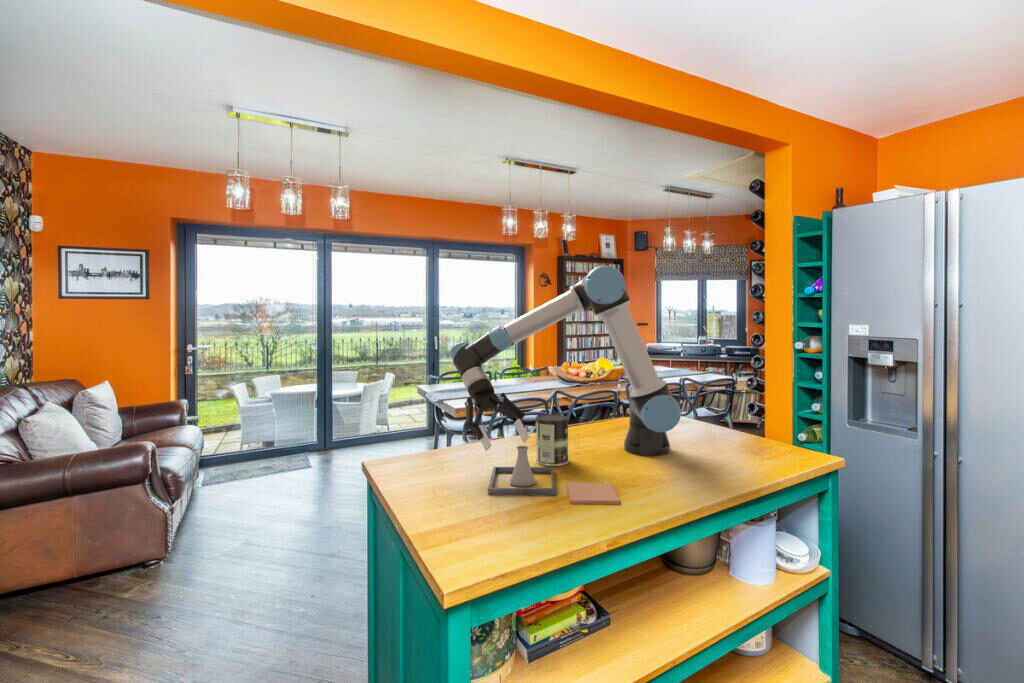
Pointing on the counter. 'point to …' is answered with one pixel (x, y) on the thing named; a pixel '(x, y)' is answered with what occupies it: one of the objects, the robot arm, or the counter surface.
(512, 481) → the flask
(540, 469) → the steel frame
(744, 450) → the counter surface
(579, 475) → the counter surface
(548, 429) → the coffee can
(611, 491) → the terracotta tile
